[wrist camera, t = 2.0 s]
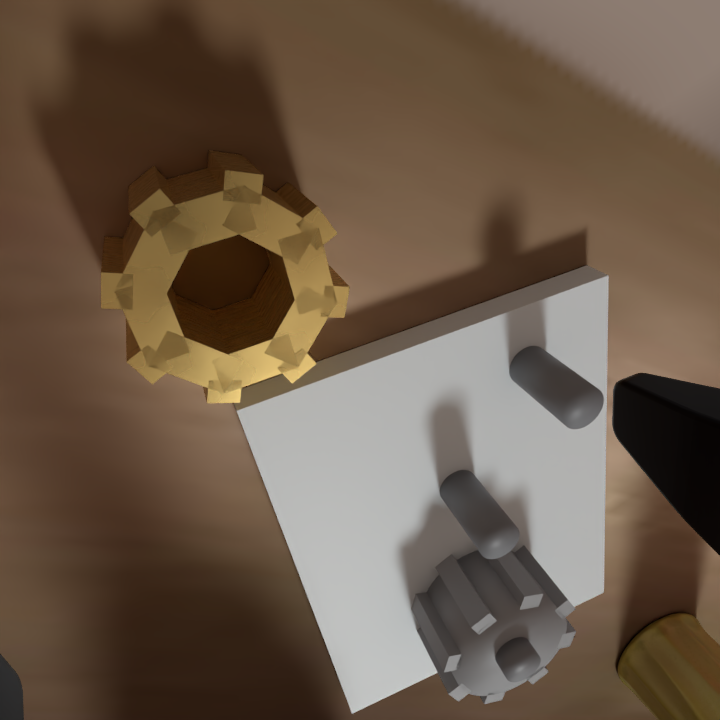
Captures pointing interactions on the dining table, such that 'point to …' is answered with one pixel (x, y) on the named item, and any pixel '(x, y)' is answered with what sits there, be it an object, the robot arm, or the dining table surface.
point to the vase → (674, 669)
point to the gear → (233, 322)
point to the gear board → (407, 448)
